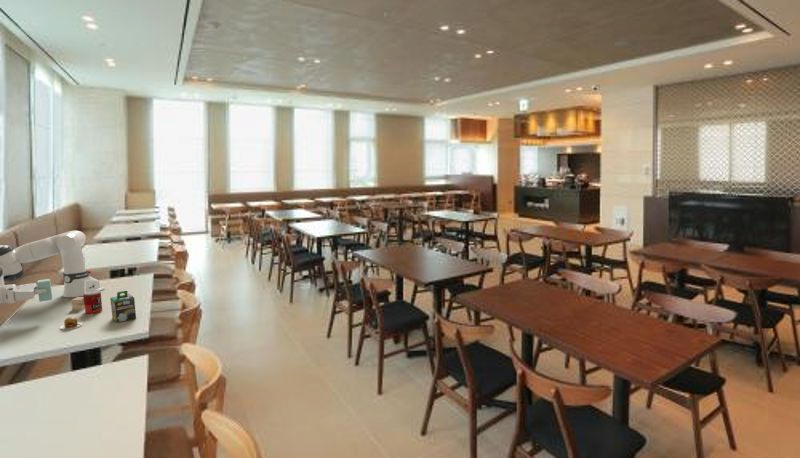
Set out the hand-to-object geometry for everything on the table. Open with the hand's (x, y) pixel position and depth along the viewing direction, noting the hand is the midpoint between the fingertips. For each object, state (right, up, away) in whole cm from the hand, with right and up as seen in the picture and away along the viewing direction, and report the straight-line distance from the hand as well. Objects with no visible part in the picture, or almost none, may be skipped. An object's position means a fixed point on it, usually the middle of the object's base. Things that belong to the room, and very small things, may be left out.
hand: (46, 288), depth 232 cm
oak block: (+3, -14, +20) cm, 24 cm away
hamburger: (+19, -18, -8) cm, 28 cm away
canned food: (+14, -15, +14) cm, 25 cm away
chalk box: (+37, -16, +3) cm, 41 cm away
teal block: (-1, -6, 0) cm, 6 cm away
